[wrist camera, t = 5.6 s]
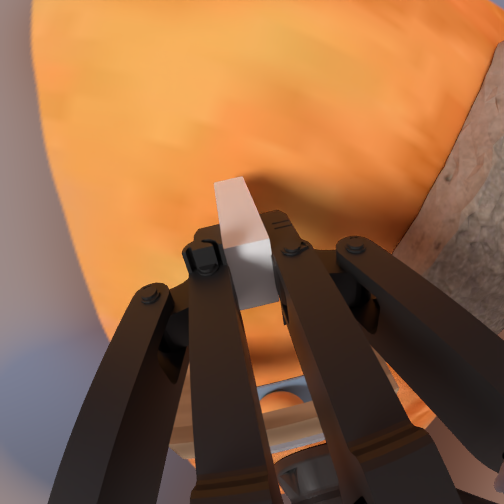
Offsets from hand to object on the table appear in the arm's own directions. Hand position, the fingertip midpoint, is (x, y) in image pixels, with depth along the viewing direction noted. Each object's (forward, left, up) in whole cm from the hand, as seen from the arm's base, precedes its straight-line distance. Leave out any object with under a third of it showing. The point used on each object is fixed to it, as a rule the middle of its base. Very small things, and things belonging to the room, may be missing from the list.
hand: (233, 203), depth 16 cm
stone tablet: (-7, -23, -3) cm, 24 cm away
